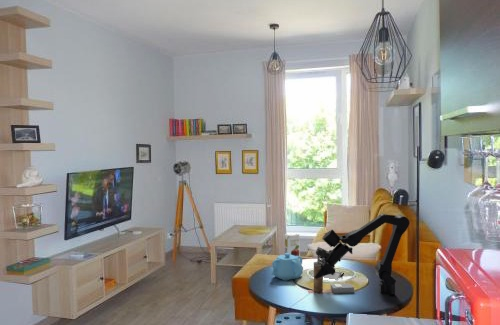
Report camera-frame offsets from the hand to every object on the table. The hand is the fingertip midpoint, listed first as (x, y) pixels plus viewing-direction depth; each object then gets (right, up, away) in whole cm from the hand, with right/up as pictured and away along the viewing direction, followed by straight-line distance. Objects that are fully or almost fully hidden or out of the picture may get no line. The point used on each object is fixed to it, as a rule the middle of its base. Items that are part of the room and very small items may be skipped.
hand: (314, 276), depth 192 cm
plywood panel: (+8, -9, -5) cm, 13 cm away
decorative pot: (-11, -9, +27) cm, 30 cm away
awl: (+2, -8, 0) cm, 8 cm away
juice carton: (-5, -8, +53) cm, 54 cm away
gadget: (+11, -9, +27) cm, 30 cm away
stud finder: (+13, -7, +1) cm, 15 cm away
